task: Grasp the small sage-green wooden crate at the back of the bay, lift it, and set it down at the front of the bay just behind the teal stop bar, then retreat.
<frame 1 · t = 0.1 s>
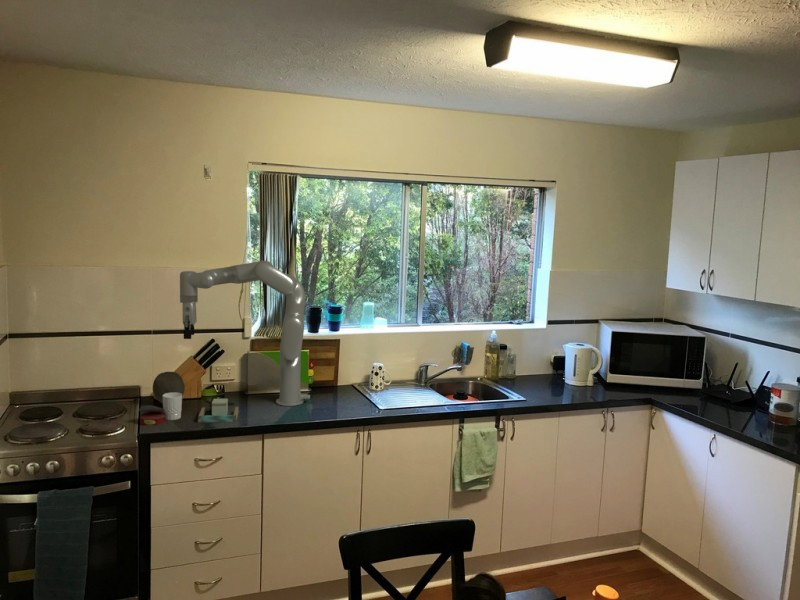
hand: (189, 336, 289), 31 cm above the countertop, fingers open, 9 cm apart
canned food: (152, 422, 266), on the countertop
crate: (220, 414, 280), on the countertop
bay: (218, 417, 275), on the countertop
white cup: (172, 418, 272), on the countertop
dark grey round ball: (168, 404, 291), on the countertop
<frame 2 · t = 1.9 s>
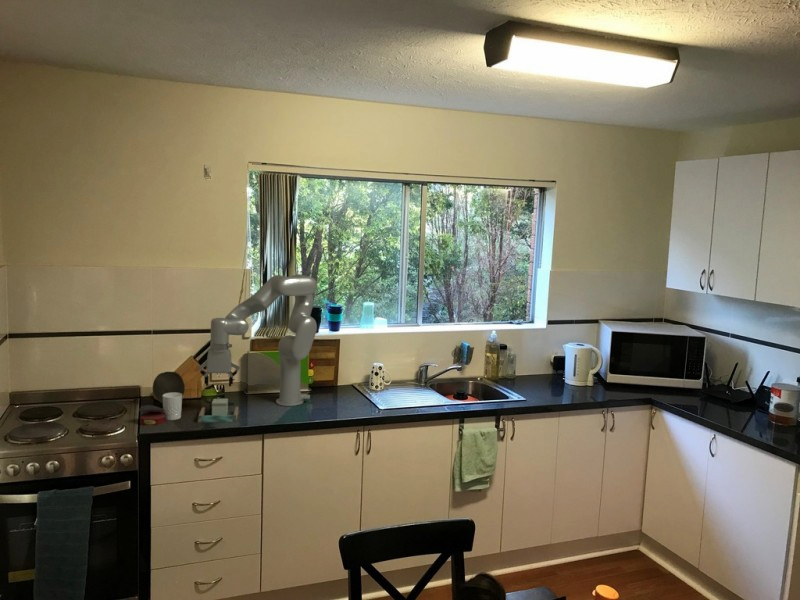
hand: (218, 385, 278), 13 cm above the countertop, fingers open, 9 cm apart
nothing on the countertop moved.
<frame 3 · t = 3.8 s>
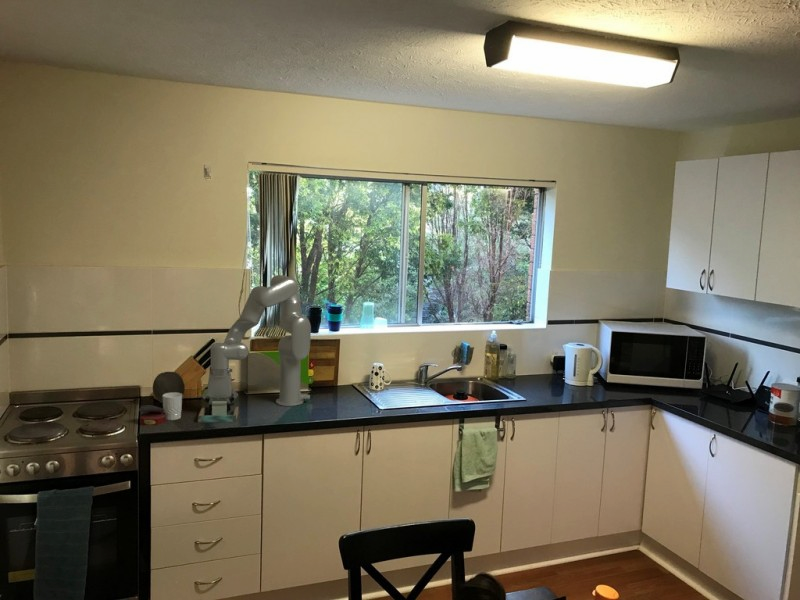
hand: (219, 411, 280), 1 cm above the countertop, fingers closed on crate, 6 cm apart
crate: (220, 413, 280), on the countertop, touching gripper
everything else where it was.
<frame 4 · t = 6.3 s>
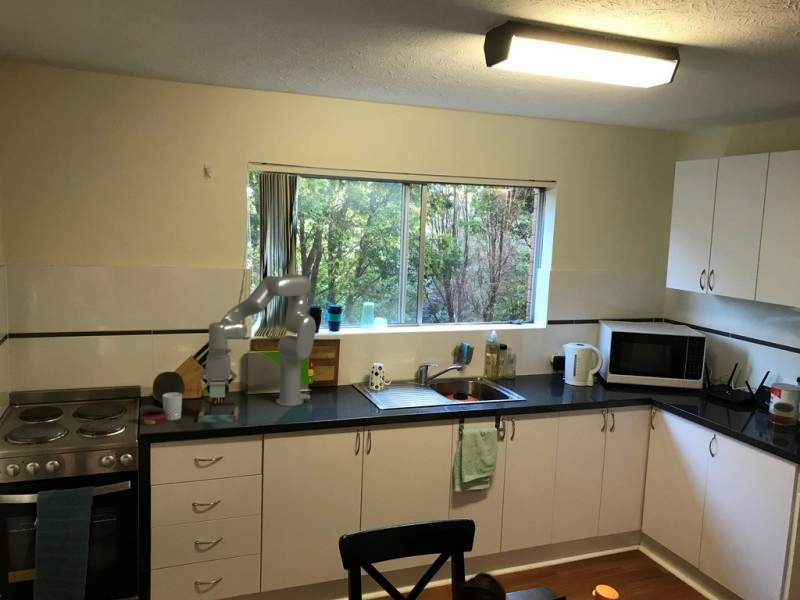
hand: (217, 393, 272), 11 cm above the countertop, fingers closed on crate, 6 cm apart
crate: (217, 395, 272), point 10 cm above the countertop, touching gripper
everything else where it was.
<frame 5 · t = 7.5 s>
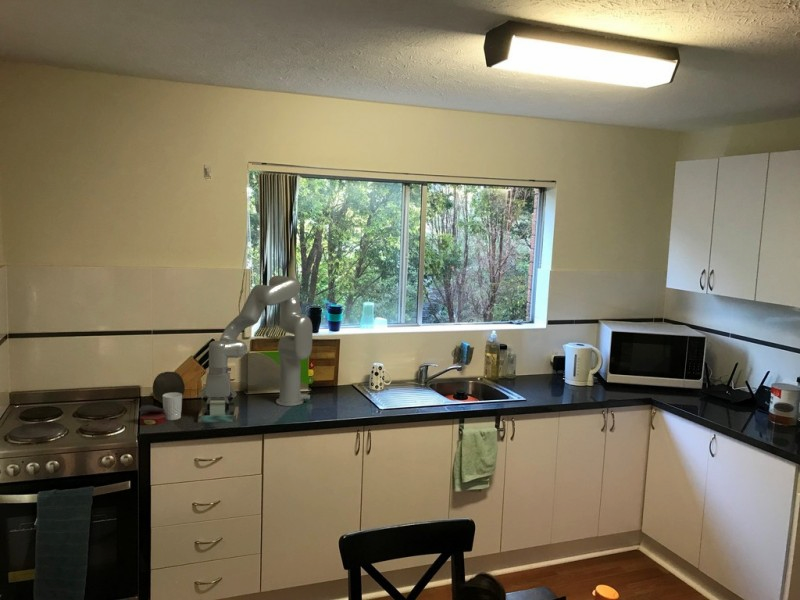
hand: (218, 411, 273), 3 cm above the countertop, fingers closed on crate, 6 cm apart
crate: (218, 413, 273), point 2 cm above the countertop, touching gripper
everything else where it was.
when the fingers open (2 cm above the countertop, at t = 8.6 s): crate drops 1 cm, on the countertop.
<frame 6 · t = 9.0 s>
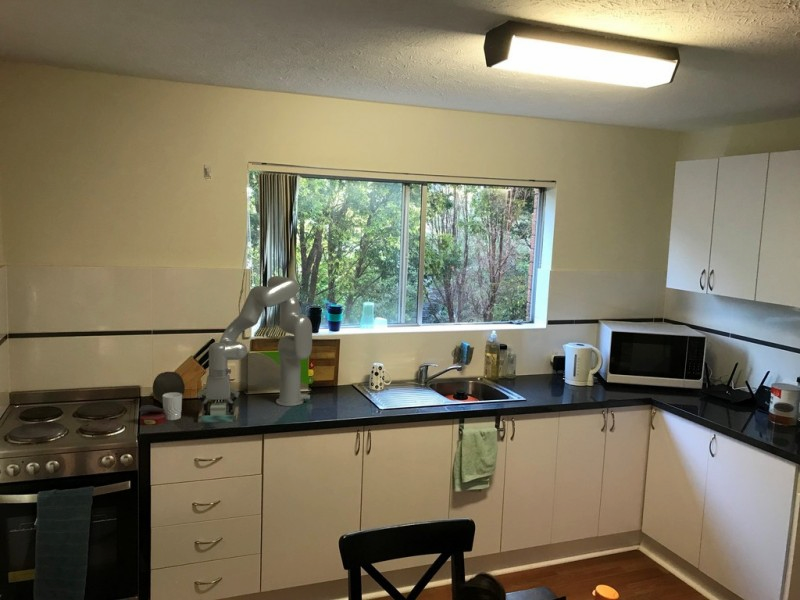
hand: (218, 411, 273), 3 cm above the countertop, fingers open, 9 cm apart
crate: (218, 418, 274), on the countertop
everything else where it was.
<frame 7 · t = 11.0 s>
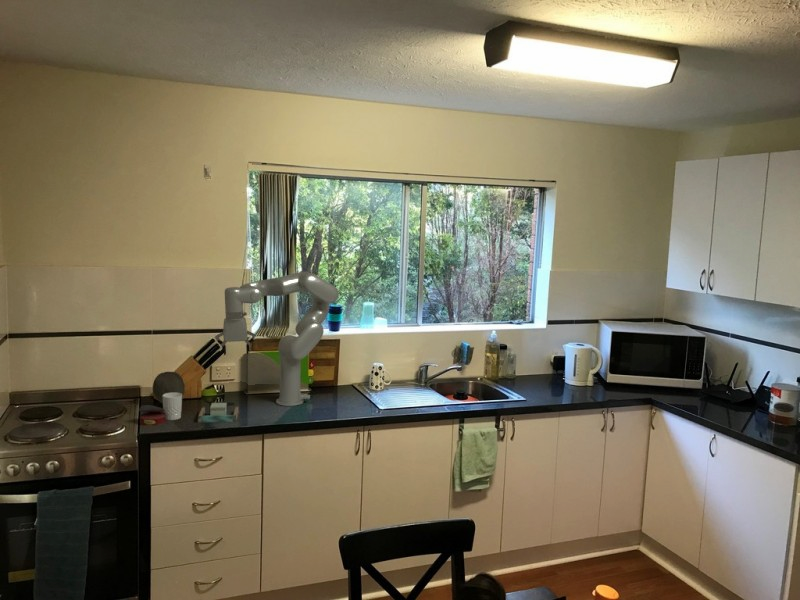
hand: (236, 353, 283), 25 cm above the countertop, fingers open, 9 cm apart
nothing on the countertop moved.
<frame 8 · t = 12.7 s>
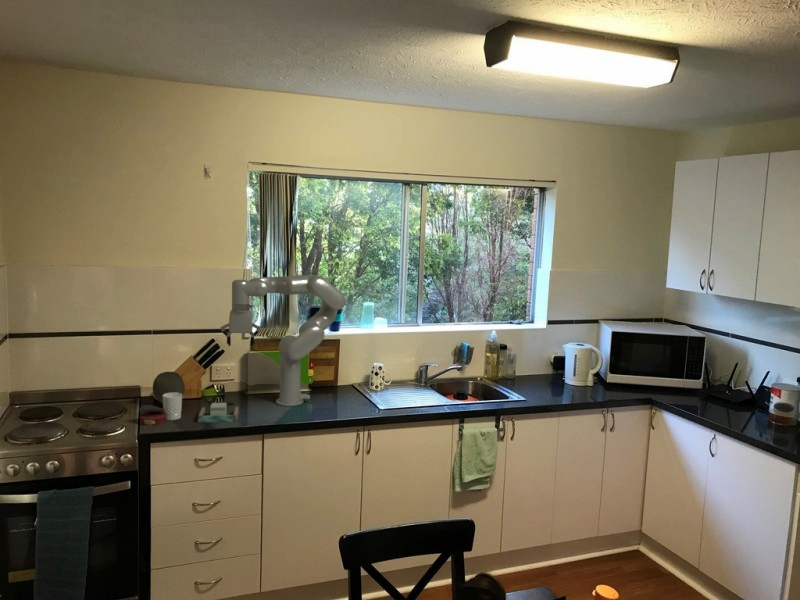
hand: (240, 345, 287), 28 cm above the countertop, fingers open, 9 cm apart
nothing on the countertop moved.
at the end: crate inside the target area (0.3 cm from its centre), on the countertop; crate tilted 0°; the gripper is holding nothing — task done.
